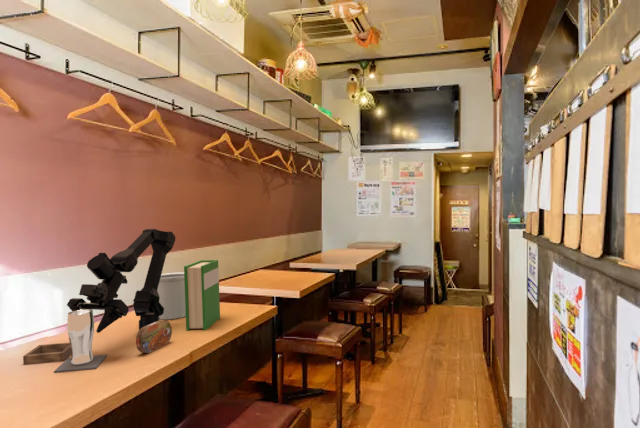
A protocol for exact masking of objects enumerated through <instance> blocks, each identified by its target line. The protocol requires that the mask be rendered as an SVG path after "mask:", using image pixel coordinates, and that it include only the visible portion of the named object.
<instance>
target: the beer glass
mask: <svg viewBox="0 0 640 428" xmlns="http://www.w3.org/2000/svg"><path fill="white" fill-rule="evenodd" d="M94 319H95V317H94V309H83V310H76V311H72V310H71V311H69V312H68V313H67V337H68V340H69V342H70V344H71V349H72V354H71V357H70V358H71V365H84V364H87V363H90V362H92V361H93V360H94V357H93V356H94V353H93V341H94V334H95V321H94Z"/></svg>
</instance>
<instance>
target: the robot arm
mask: <svg viewBox="0 0 640 428" xmlns="http://www.w3.org/2000/svg"><path fill="white" fill-rule="evenodd" d="M175 242H176V235H175V234H174V233H173V232H172V231H163V230H159V229H157V228H146V229H143V231H142V233H141V234H140V235H139V236H138V237H137V238H136V239H135V240H134V241H133V242H132V243H131V244H130V245H129V246H128V247H127V248H126V249H124V250H121V251H118V252H117V253H115V254H114V255H113V256H111V257H110V258H109V256H108V255H107V254H106V252H99V253H98V255H95V256H93V257H92V258H91V259H89V260H88V261H87V264H86V267H87V269H88V270H89V271H90V272H91V273H92V274H93V275H94V276H95V277H96V278H97V279H98V280H101V282H98V283H97V284H92V283H91V284H90V283H89V284H88V283H87V284H86V283H85V284H81V287H80V289H79V292H78V296H84V297H86V300H87V301H90V302H86V300H85V299H83V298H80V297H79V298H77V297H74V298H73V297H72V298H70V299H68V302H67V303H66V306H67V307H68V308H69V309H70V310H71V312H72V311H76V310H83V309H91V310H93V311H94V310H95V311H97V310H99V311H103V312H104V313H103V315H102V318H100V319H101V320H100V321H99V324H98V325H97V328H96V330H95V331H96V333H97V334H100V333H101V332H102V331H103V330H104V329H106V328H107V327H109V326H111V325H112V324H113V323H114V322H116V321H117V320H119V319H122V318H123V317H127V315H128V313H129V310H130V309H129V306H128V305H127V304H126V303H125V302H124V301H123V300H122V299H120V298H119V299H117V298H118V297H119V294H118V291H119V289H120V287H121V286H122V284H124V285H125V284H128V279H127V276H126V275H123V274H122V273H131V272H132V271H134V269H135V268H136V266H137V265H138V259H139V257H140V256H141V255H143V253H144V252H145V251H146V250H147V249H148V248H149V247H150V246H151V249H152V256H151V259H150V262H149V266H148V270H147V274H146V277H145V281H144V285H143V287H142V288H141V289H140V290H139V289H138V290H136V292H135V295H134V299H133V300H132V301H133V303H132V307H133V311H134V313H135V316H136V317H139V320H138V331H139V330H140V329H141V328H142V327H145V326H147V325H149V324H152V323H154V322H156V321H161V319H160V318H159V316H161V315H162V314H163V313H164V308H163V306H162V305H161V304H160V303H159V299H160V297H159V294H158V291H157V289H158V285H159V281H160V277H161V274H163V269H164V265H165V263H166V262H165V261H166V258H167V255H168V254H169V252H171V251H172V250H173V248H174V245H175Z"/></svg>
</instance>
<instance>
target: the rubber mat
mask: <svg viewBox="0 0 640 428" xmlns="http://www.w3.org/2000/svg"><path fill="white" fill-rule="evenodd" d="M93 357H94V360H93V361H92V362H90V363H87V364H84V365H71V357H68V358H67V359H65V360H64V361H62V362H63V363H61V364H60V365H59V366H58V367H57V368H56V369H55V370H54V371H53V374H56V373H68V372H78V371H88V370H89V371H90V370H97V368H98V367H99V366H100V365H101V364H102V362H103V361H105V359H106V358H107V357H108V354H98V355H97V354H96V355H93Z"/></svg>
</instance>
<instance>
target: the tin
mask: <svg viewBox="0 0 640 428" xmlns="http://www.w3.org/2000/svg"><path fill="white" fill-rule="evenodd" d="M172 332H173V330H172V326H171V323H170V321H168V319H167V320H164V319H160V321H156V322H154V323H152V324H149V325H147V326H145V327H142V328H141V329H140V330H139V329H138V331H137V333H136V337H135V344H136V348H137V351H138V352H139V353H142V354H143V353H144V354H151V353H153V352H155V351H157V350H159V349H162V347H165V346H166V345H168V343H170V340H171V338H172Z"/></svg>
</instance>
